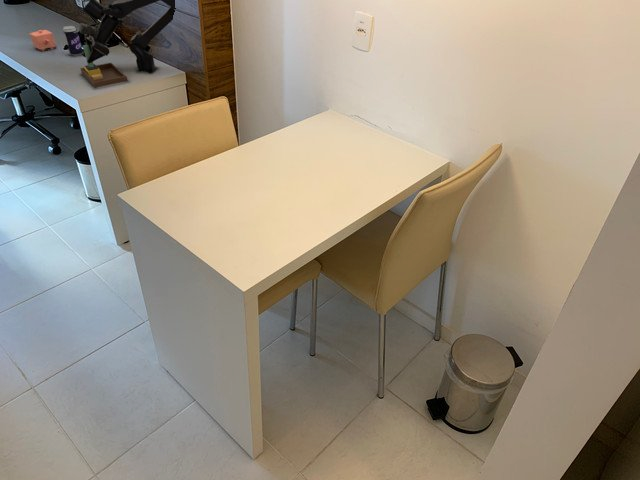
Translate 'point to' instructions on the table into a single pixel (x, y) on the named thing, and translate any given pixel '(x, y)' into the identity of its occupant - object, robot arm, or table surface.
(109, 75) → the tray
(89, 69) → the sponge wand
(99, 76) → the tan rectangular slab
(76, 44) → the beverage can
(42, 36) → the pink cube teapot
